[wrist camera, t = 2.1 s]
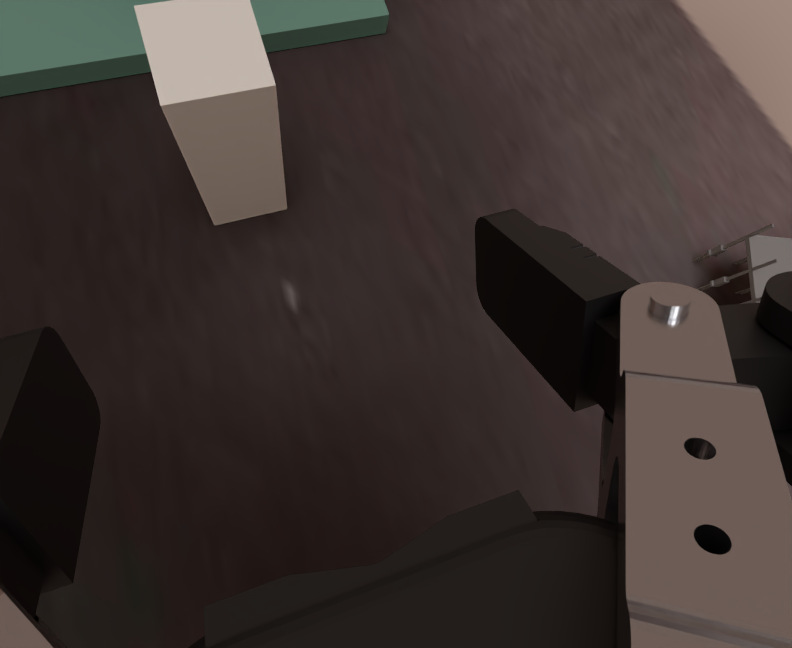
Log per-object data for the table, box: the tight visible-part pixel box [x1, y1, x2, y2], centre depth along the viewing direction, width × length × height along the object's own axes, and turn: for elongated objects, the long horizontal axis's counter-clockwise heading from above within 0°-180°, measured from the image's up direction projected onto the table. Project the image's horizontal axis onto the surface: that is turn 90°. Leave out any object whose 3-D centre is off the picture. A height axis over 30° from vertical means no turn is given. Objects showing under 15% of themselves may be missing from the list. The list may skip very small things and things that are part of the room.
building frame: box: [692, 224, 792, 304], centre depth 30 cm, size 6×8×6 cm
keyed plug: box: [134, 0, 287, 226], centre depth 25 cm, size 5×4×11 cm
